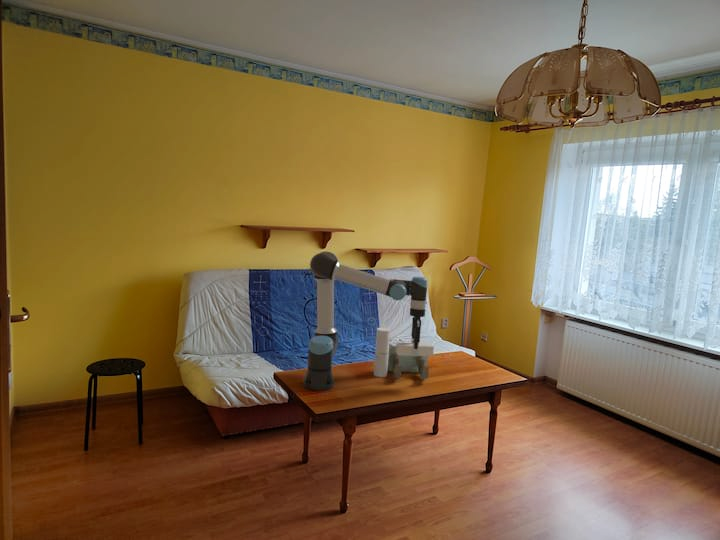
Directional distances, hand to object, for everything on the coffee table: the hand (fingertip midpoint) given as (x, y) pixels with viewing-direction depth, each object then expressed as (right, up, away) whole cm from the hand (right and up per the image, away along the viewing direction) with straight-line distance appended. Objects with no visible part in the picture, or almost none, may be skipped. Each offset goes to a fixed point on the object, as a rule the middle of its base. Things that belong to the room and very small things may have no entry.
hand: (414, 353), depth 235 cm
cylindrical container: (-16, -14, +14) cm, 26 cm away
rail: (0, -1, 0) cm, 1 cm away
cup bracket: (-1, -15, +14) cm, 20 cm away
